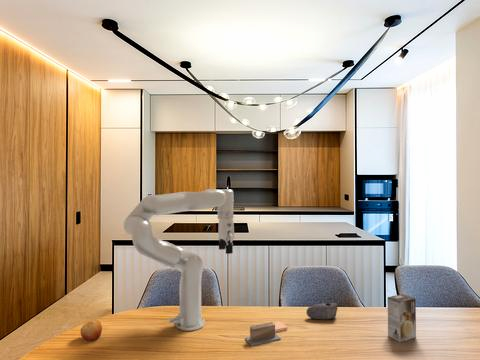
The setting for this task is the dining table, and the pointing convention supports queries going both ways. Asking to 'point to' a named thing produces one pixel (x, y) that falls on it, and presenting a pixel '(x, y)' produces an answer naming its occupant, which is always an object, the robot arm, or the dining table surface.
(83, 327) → the fruit
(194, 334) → the dining table surface
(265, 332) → the brown rectangular pillar
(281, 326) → the tile
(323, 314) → the perforated stone tool
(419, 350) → the dining table surface
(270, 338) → the mat
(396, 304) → the coffee box
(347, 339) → the dining table surface
